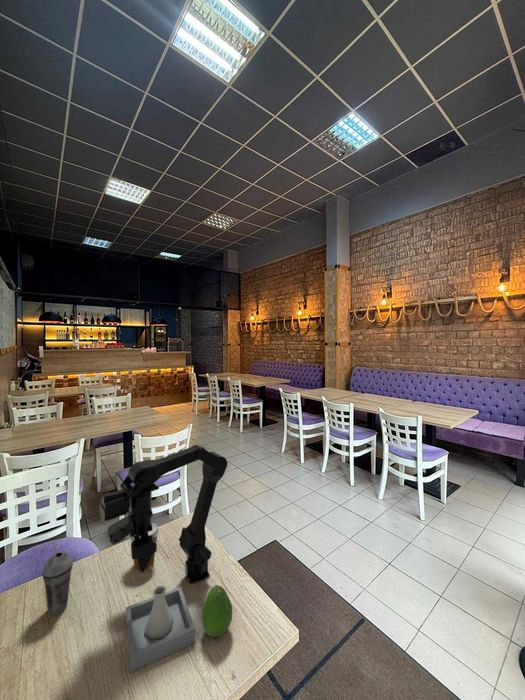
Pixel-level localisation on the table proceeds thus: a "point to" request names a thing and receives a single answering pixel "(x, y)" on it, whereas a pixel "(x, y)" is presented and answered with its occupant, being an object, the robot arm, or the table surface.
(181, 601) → the serving bin
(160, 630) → the flask
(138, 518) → the robot arm
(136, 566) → the disposable coffee cup
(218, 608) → the avocado
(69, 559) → the beverage cup
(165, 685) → the table surface
